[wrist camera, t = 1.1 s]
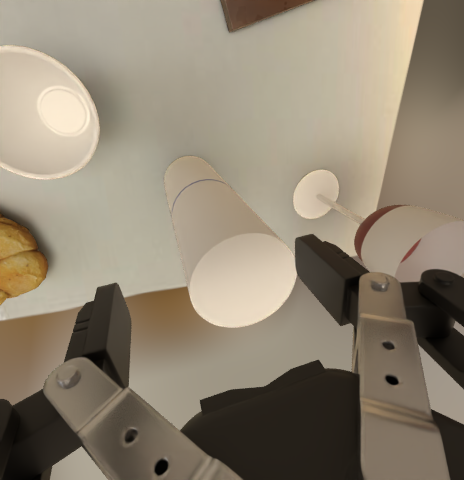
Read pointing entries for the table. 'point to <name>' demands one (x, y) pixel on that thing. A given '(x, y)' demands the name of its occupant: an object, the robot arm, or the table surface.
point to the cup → (43, 116)
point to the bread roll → (19, 260)
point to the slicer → (255, 10)
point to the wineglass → (390, 231)
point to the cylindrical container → (225, 248)
